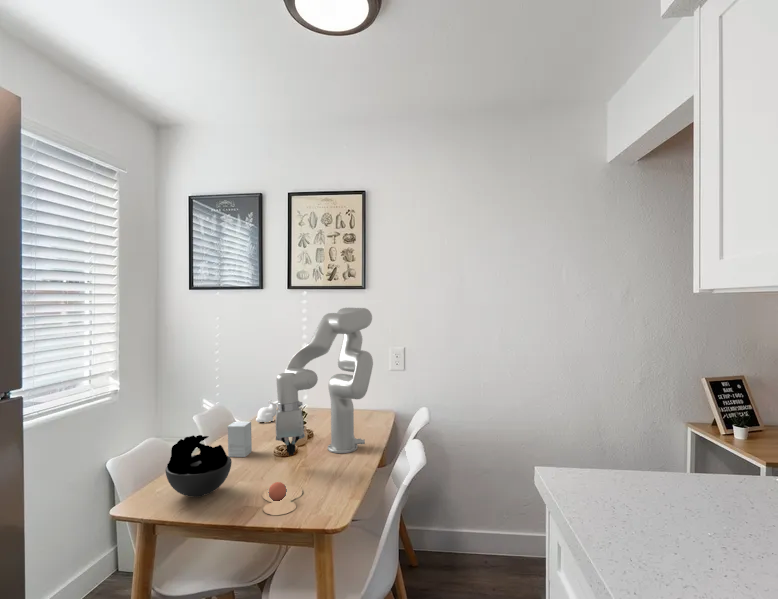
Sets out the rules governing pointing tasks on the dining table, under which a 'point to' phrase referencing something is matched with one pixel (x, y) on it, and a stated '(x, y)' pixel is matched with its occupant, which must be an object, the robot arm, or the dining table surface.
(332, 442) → the robot arm
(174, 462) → the coal bowl
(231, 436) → the supplement box
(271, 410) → the rabbit
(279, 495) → the ball
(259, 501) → the dining table surface
